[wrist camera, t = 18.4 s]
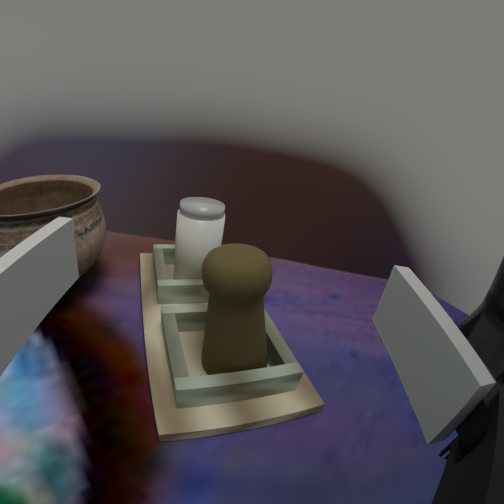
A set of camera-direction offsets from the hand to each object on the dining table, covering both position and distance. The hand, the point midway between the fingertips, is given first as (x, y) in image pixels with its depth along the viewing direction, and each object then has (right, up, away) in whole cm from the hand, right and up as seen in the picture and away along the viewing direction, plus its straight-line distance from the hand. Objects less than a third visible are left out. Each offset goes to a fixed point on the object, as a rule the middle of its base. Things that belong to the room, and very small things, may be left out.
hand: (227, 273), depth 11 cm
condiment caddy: (-4, -7, +22) cm, 23 cm away
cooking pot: (-27, -3, +21) cm, 34 cm away
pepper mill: (-1, -9, +15) cm, 17 cm away
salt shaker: (-7, -3, +27) cm, 28 cm away
